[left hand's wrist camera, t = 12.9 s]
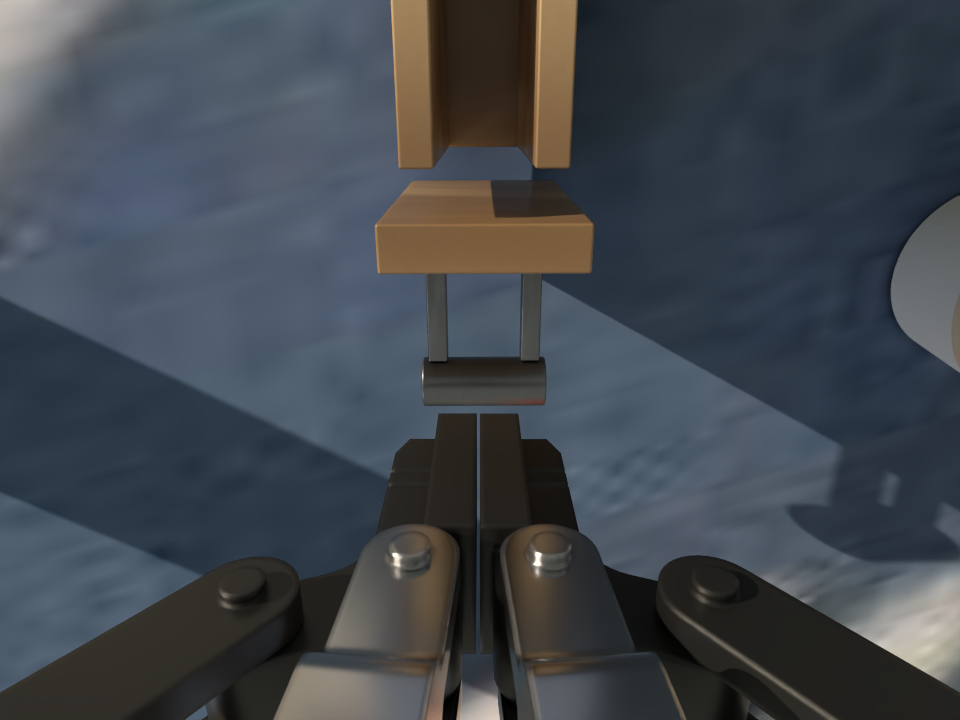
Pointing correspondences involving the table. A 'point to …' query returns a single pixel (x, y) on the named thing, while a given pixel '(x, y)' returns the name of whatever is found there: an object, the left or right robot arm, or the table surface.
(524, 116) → the drawer
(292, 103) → the table surface
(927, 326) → the coffee cup
